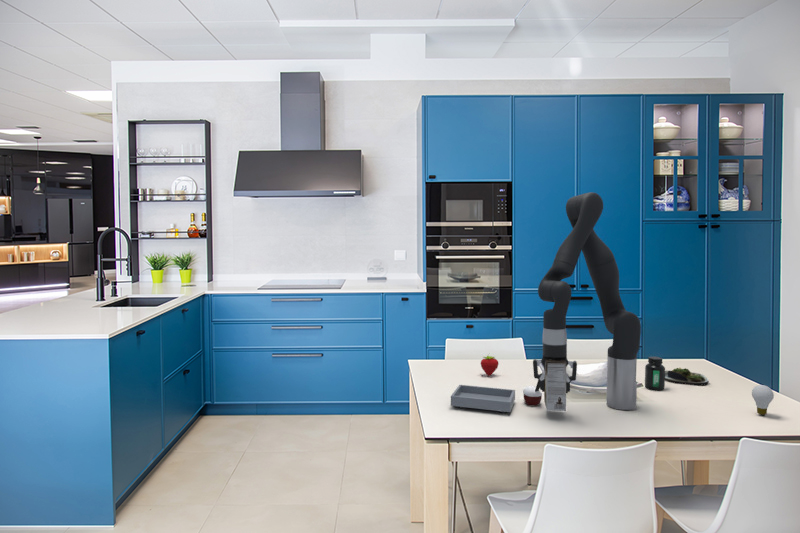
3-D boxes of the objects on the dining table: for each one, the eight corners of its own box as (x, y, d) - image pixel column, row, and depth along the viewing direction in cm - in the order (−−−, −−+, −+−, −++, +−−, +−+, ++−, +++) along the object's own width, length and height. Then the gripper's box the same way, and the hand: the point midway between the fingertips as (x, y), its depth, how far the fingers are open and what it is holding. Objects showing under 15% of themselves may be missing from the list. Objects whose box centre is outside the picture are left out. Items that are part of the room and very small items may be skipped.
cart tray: (515, 402, 180) (515, 389, 180) (510, 415, 167) (510, 402, 167) (459, 396, 187) (459, 384, 187) (450, 409, 174) (450, 396, 173)
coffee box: (543, 401, 172) (543, 354, 171) (563, 402, 171) (563, 355, 170) (546, 410, 163) (546, 361, 162) (567, 411, 162) (567, 361, 161)
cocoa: (520, 401, 183) (519, 368, 182) (537, 400, 183) (536, 367, 183) (528, 409, 173) (527, 374, 173) (546, 408, 174) (545, 373, 173)
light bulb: (751, 411, 171) (752, 381, 171) (773, 414, 168) (774, 385, 167) (749, 415, 167) (751, 385, 166) (772, 419, 163) (773, 389, 163)
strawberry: (500, 377, 211) (500, 354, 211) (482, 378, 211) (482, 354, 210) (496, 374, 217) (496, 350, 217) (479, 374, 217) (479, 351, 216)
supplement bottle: (659, 392, 192) (660, 361, 191) (641, 388, 197) (642, 357, 196) (667, 388, 196) (668, 358, 195) (649, 384, 201) (650, 354, 201)
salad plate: (656, 371, 223) (656, 360, 223) (703, 375, 216) (703, 364, 216) (659, 382, 205) (659, 371, 205) (710, 388, 198) (711, 376, 198)
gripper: (577, 340, 167) (577, 390, 168) (532, 338, 171) (532, 387, 172) (578, 345, 160) (578, 397, 161) (531, 343, 164) (531, 393, 165)
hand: (554, 391), depth 167 cm, fingers closed on coffee box, 6 cm apart
